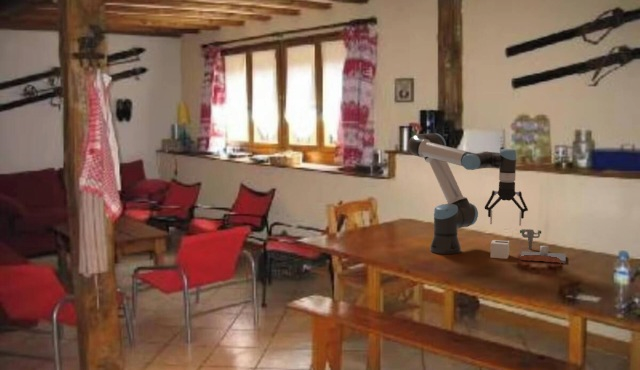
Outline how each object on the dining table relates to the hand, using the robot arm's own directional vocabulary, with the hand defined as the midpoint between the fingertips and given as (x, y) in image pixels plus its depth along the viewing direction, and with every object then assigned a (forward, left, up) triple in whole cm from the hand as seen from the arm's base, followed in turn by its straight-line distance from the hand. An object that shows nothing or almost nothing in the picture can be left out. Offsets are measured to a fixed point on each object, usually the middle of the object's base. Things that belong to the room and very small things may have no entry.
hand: (505, 224), depth 312 cm
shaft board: (+18, -1, -16) cm, 24 cm away
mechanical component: (+11, +18, -16) cm, 26 cm away
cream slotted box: (-2, -2, -16) cm, 16 cm away
